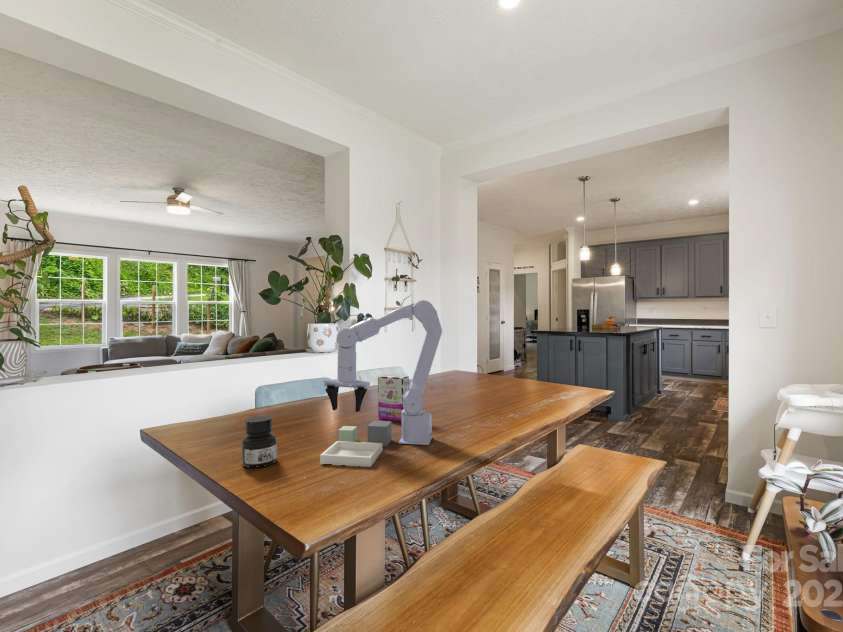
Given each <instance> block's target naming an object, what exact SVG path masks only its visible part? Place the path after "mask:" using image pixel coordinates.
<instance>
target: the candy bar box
mask: <svg viewBox="0 0 843 632" xmlns="http://www.w3.org/2000/svg"><path fill="white" fill-rule="evenodd" d="M409 386H410V377H409V376H407V375H392V374H383V375H379V376H377V394H378V395H377V396H378V397H377V400H378V402H377V403H378V405H377V406H378V409H377V411H378V412H377V413H378V414H377V415H378V420H380V421H391V422H396V423H402V410H403V396H404V393H405V392H406V391H407V390H408V389H409Z"/></svg>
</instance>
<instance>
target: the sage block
mask: <svg viewBox="0 0 843 632" xmlns="http://www.w3.org/2000/svg"><path fill="white" fill-rule="evenodd" d="M337 432H338V441H348V442H358V426H355V425H354V426H353V425H352V426H351V425H342V427H340V428H339V429H338V431H337Z"/></svg>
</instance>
